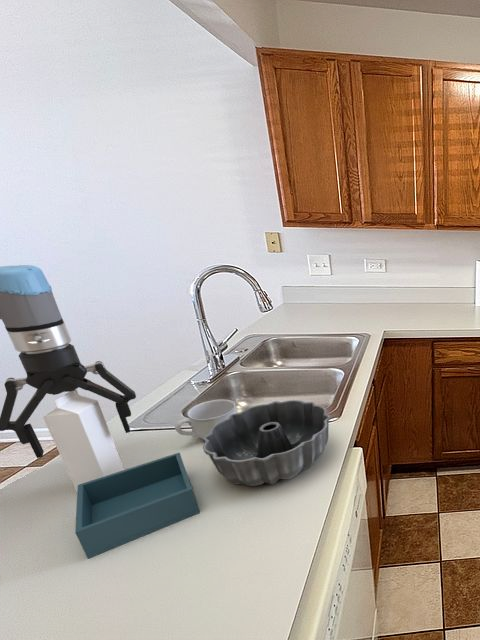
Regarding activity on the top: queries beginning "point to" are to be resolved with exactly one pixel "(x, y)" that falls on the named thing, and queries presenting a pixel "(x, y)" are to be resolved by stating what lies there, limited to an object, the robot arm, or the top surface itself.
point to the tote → (133, 504)
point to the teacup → (206, 417)
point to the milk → (82, 438)
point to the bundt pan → (268, 441)
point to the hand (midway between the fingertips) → (86, 442)
